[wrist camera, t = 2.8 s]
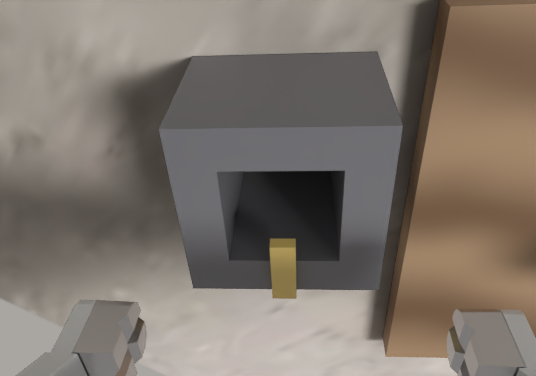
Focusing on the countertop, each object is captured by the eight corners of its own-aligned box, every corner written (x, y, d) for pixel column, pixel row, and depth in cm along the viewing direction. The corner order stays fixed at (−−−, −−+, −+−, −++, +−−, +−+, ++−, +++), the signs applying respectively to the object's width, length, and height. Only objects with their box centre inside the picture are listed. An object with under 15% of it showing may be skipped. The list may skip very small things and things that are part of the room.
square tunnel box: (192, 56, 16) (154, 137, 12) (377, 51, 16) (405, 134, 12) (213, 198, 20) (191, 297, 16) (363, 197, 20) (380, 299, 16)
